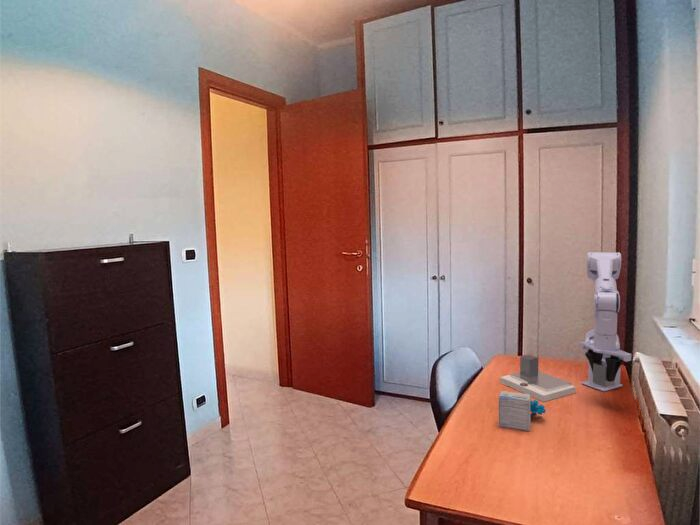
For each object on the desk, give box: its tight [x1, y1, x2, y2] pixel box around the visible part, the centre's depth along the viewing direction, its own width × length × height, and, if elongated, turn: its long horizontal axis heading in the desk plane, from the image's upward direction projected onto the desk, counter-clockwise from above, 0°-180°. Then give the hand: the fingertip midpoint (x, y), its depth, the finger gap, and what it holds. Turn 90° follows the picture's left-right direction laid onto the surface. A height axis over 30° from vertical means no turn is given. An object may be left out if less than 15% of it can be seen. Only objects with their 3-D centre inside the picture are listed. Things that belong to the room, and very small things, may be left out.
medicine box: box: [498, 390, 532, 432], centre depth 123 cm, size 8×4×9 cm, turn 65°
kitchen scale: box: [499, 370, 576, 403], centre depth 149 cm, size 14×18×3 cm
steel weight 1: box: [519, 354, 539, 377], centre depth 153 cm, size 4×4×6 cm
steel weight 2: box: [593, 361, 615, 387], centre depth 134 cm, size 4×4×6 cm
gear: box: [531, 399, 547, 416], centre depth 128 cm, size 11×6×10 cm
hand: (603, 378), depth 134 cm, fingers closed on steel weight 2, 4 cm apart
